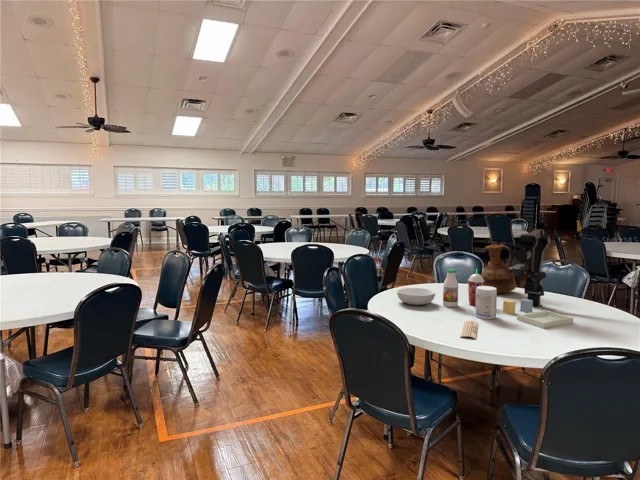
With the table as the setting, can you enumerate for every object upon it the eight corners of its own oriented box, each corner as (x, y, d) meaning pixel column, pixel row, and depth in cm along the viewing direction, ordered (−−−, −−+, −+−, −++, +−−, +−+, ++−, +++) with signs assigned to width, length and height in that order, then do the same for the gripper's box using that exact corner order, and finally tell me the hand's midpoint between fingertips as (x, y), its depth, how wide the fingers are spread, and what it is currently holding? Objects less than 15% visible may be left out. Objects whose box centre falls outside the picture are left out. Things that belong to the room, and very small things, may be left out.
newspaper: (464, 323, 193) (464, 320, 193) (480, 325, 190) (480, 321, 190) (460, 339, 171) (460, 335, 171) (478, 341, 168) (478, 337, 168)
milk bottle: (440, 304, 226) (441, 268, 224) (454, 303, 227) (455, 268, 225) (446, 307, 219) (447, 270, 217) (460, 307, 219) (461, 270, 217)
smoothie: (484, 307, 220) (486, 270, 218) (468, 306, 221) (469, 269, 219) (481, 303, 228) (483, 267, 226) (466, 302, 230) (467, 267, 228)
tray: (546, 315, 204) (546, 310, 204) (573, 322, 191) (573, 317, 191) (517, 319, 196) (517, 314, 196) (543, 328, 183) (543, 322, 183)
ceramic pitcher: (476, 288, 266) (477, 242, 263) (507, 288, 265) (509, 242, 262) (487, 295, 246) (489, 246, 243) (521, 295, 245) (523, 246, 242)
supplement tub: (484, 313, 208) (485, 285, 206) (500, 318, 199) (501, 288, 198) (470, 315, 203) (471, 286, 202) (486, 320, 195) (487, 290, 193)
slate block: (525, 310, 214) (526, 298, 213) (532, 312, 210) (532, 300, 210) (520, 310, 212) (520, 299, 212) (526, 312, 208) (527, 301, 208)
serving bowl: (431, 299, 237) (431, 287, 237) (438, 308, 217) (438, 296, 216) (395, 298, 240) (395, 286, 239) (398, 307, 219) (398, 295, 218)
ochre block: (508, 311, 212) (509, 299, 211) (515, 313, 208) (515, 301, 207) (502, 312, 210) (503, 300, 209) (509, 314, 206) (509, 302, 206)
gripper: (500, 257, 214) (499, 286, 216) (531, 262, 197) (529, 294, 199) (516, 256, 218) (515, 284, 220) (547, 261, 201) (546, 292, 203)
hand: (525, 288), depth 210 cm, fingers open, 9 cm apart
